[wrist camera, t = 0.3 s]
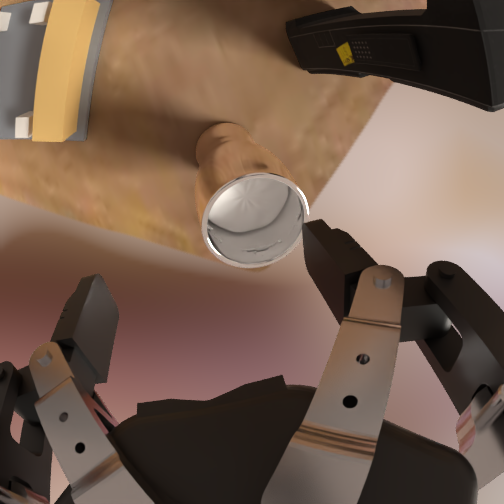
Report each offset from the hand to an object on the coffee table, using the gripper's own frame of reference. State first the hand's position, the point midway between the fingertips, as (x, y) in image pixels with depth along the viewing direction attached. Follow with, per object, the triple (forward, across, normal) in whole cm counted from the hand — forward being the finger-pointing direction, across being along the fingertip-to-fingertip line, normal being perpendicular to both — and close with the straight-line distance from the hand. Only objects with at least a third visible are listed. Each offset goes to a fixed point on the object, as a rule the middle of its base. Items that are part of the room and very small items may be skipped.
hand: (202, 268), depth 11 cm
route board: (+20, +13, -15) cm, 28 cm away
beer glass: (+21, -3, 0) cm, 22 cm away
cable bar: (+19, +10, -13) cm, 25 cm away
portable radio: (+20, -14, -10) cm, 27 cm away
